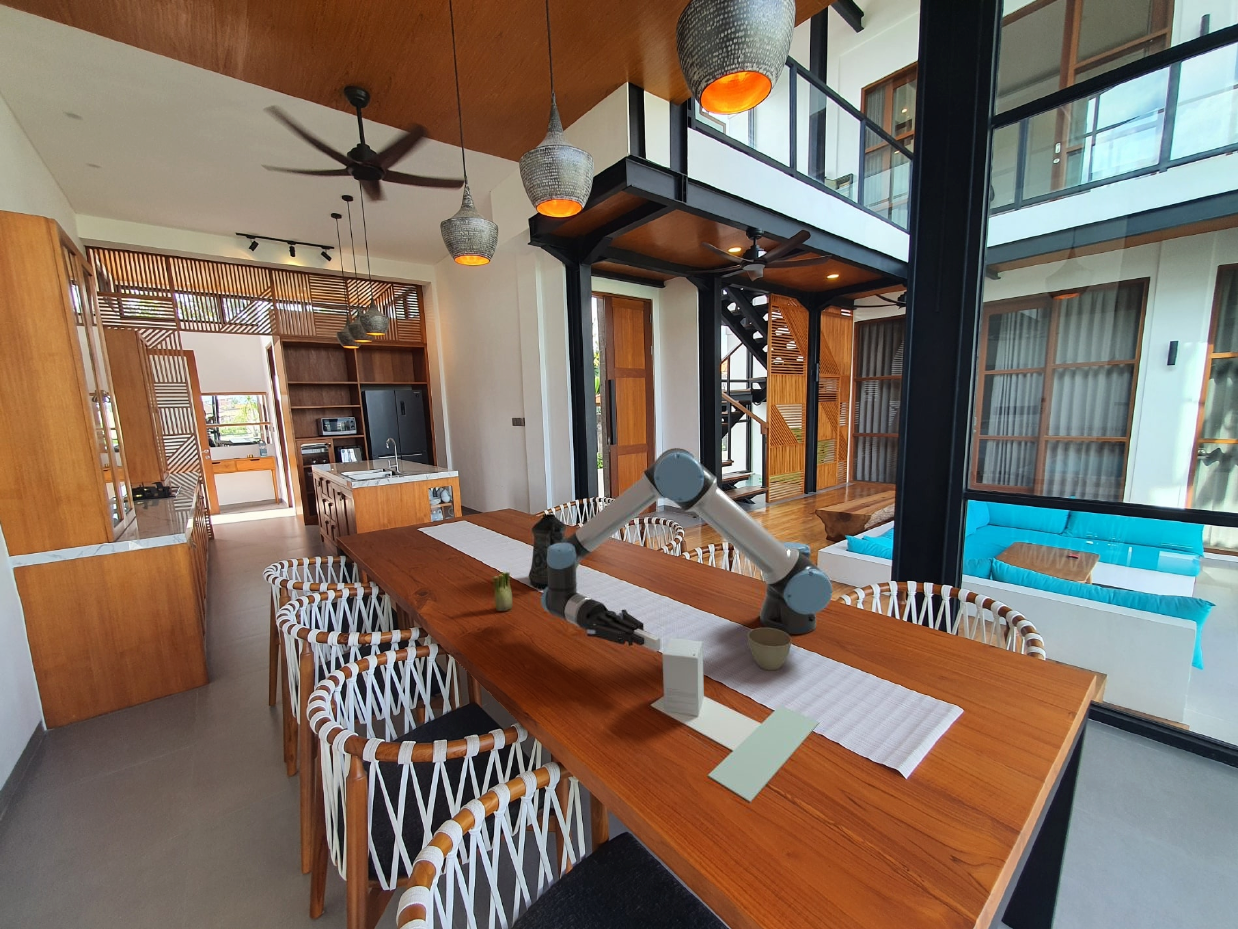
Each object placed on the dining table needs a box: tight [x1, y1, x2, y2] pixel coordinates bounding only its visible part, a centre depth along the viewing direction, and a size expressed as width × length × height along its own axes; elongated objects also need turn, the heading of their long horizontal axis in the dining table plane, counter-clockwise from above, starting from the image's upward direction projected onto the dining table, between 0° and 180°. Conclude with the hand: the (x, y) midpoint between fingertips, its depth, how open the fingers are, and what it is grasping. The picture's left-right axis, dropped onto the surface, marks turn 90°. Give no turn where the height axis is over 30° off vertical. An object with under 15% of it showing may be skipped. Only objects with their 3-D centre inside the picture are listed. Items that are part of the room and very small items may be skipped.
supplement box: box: [661, 637, 705, 716], centre depth 101 cm, size 7×7×13 cm
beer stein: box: [528, 513, 567, 590], centre depth 174 cm, size 16×19×25 cm
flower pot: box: [747, 627, 793, 671], centre depth 115 cm, size 10×10×7 cm
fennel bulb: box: [493, 571, 513, 612], centre depth 152 cm, size 6×5×12 cm
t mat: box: [650, 695, 820, 803], centre depth 95 cm, size 28×26×1 cm
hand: (657, 644), depth 105 cm, fingers closed
